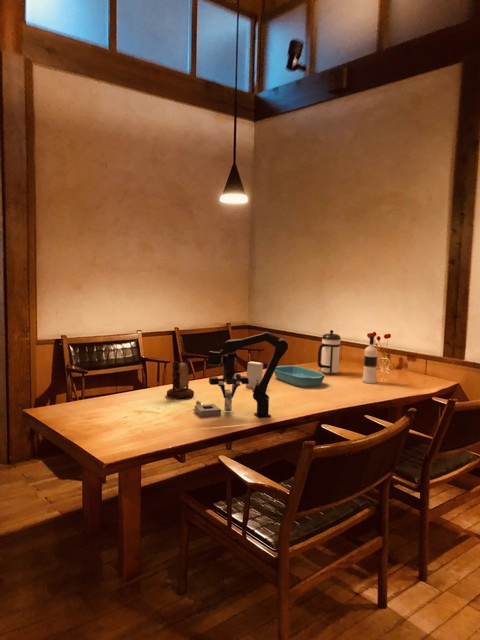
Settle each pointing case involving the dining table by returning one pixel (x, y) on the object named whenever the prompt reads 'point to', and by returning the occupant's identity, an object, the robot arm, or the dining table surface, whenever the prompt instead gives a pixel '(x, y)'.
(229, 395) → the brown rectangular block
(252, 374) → the skincare box
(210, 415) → the block
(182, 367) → the brown pedestal sculpture
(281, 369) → the casserole dish
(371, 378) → the vodka
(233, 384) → the robot arm
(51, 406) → the dining table surface
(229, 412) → the mat
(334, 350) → the coffee press
